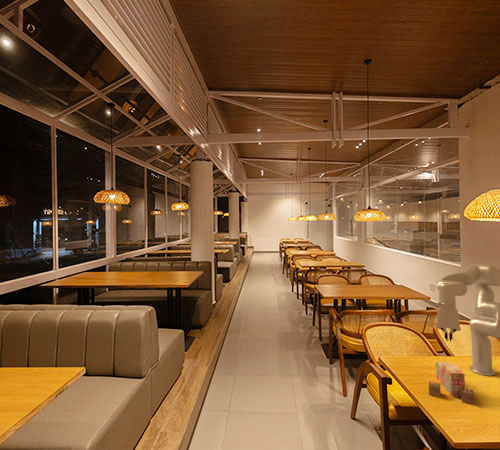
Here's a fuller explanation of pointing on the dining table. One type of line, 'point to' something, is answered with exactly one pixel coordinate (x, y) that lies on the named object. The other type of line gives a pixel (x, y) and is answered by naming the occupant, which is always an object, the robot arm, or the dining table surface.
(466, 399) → the walnut cube two
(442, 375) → the stack of blocks
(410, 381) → the dining table surface
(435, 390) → the walnut cube one
